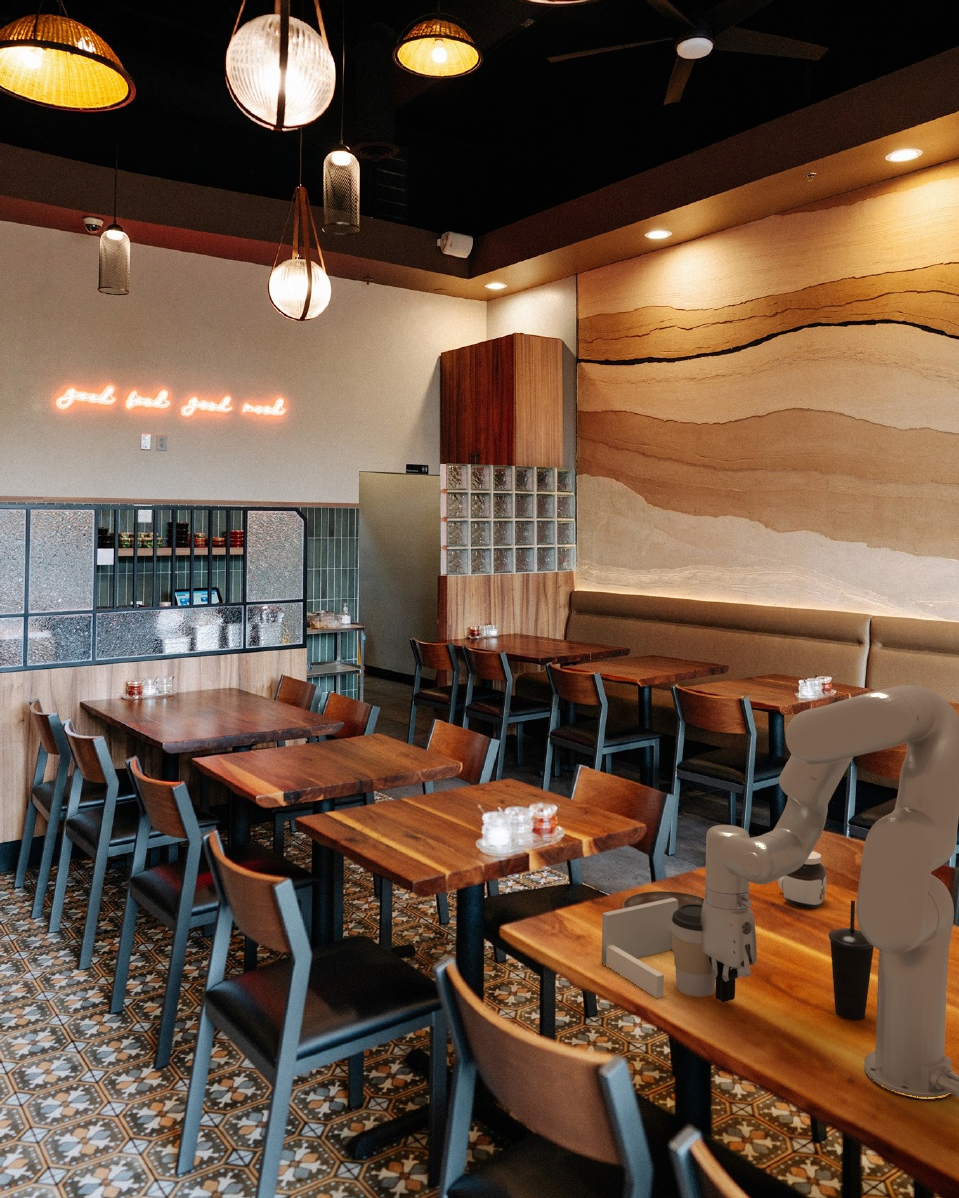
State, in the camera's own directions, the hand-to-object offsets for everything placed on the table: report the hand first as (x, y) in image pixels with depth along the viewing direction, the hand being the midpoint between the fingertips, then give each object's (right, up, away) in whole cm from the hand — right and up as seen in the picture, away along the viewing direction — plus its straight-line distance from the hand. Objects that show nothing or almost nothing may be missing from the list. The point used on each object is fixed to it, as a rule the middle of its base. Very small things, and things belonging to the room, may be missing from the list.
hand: (725, 998), depth 165 cm
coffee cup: (-4, -1, +7) cm, 8 cm away
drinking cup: (+21, -2, -3) cm, 21 cm away
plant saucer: (-2, 0, +39) cm, 40 cm away
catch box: (-7, -1, +13) cm, 15 cm away
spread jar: (+31, 0, +52) cm, 61 cm away
